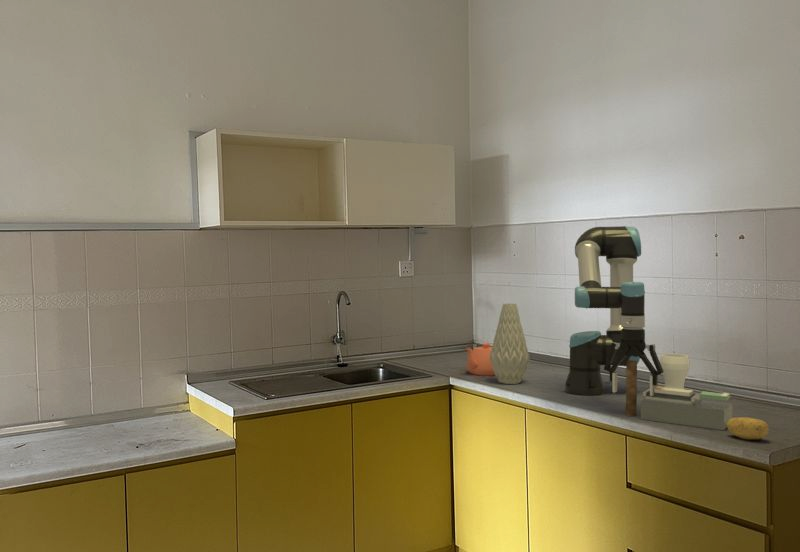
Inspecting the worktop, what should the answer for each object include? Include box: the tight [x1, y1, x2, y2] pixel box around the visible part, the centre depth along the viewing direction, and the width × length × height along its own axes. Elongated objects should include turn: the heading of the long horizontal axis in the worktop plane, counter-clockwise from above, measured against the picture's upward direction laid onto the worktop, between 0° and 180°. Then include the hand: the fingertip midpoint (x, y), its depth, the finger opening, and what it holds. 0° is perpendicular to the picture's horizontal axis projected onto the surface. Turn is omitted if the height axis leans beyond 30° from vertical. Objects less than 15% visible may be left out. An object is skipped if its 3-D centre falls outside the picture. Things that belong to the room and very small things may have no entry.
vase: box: [489, 303, 531, 385], centre depth 295 cm, size 17×17×33 cm
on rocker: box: [699, 390, 731, 402], centre depth 224 cm, size 8×5×1 cm, turn 55°
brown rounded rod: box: [625, 360, 638, 417], centre depth 237 cm, size 3×3×18 cm
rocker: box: [654, 385, 694, 396], centre depth 231 cm, size 11×4×1 cm, turn 55°
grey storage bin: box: [640, 388, 733, 431], centre depth 229 cm, size 25×13×8 cm, turn 55°
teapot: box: [465, 342, 495, 377], centre depth 318 cm, size 25×17×13 cm
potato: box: [726, 416, 770, 440], centre depth 206 cm, size 7×11×6 cm, turn 41°
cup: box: [659, 353, 691, 390], centre depth 270 cm, size 11×11×15 cm
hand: (633, 393), depth 236 cm, fingers open, 12 cm apart
